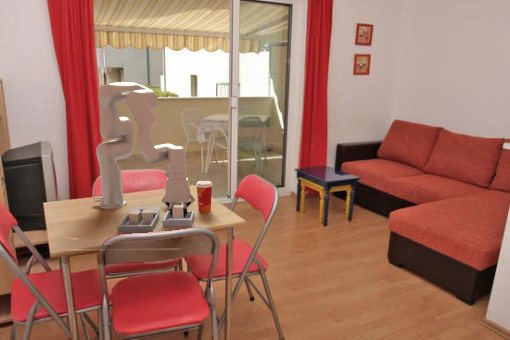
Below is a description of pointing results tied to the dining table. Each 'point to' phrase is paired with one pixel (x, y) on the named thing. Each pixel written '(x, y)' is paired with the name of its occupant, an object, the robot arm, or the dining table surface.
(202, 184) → the paper cup
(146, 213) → the stone
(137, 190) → the dining table surface
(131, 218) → the stone
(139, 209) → the lid board
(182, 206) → the cream cube
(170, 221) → the bin
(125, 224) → the bin
